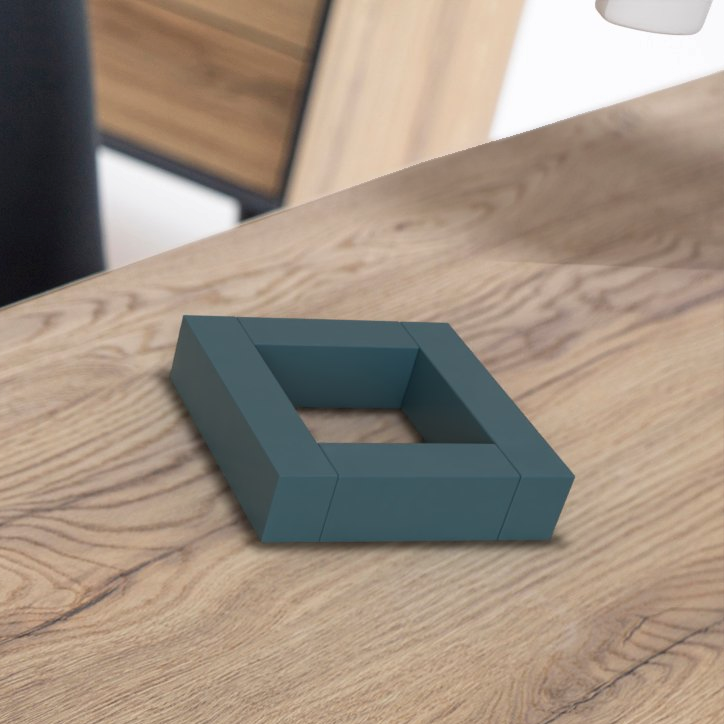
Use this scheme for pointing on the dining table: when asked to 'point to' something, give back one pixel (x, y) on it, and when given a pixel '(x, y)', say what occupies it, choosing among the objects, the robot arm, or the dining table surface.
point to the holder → (365, 460)
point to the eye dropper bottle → (656, 15)
